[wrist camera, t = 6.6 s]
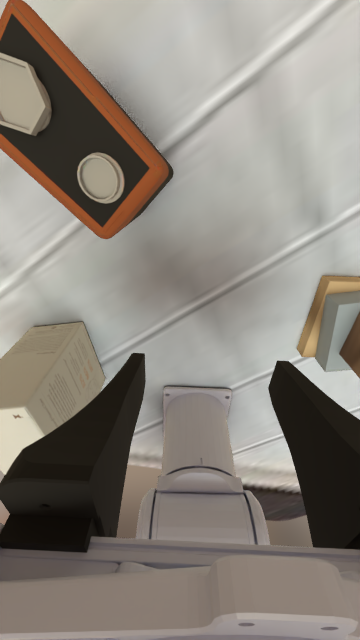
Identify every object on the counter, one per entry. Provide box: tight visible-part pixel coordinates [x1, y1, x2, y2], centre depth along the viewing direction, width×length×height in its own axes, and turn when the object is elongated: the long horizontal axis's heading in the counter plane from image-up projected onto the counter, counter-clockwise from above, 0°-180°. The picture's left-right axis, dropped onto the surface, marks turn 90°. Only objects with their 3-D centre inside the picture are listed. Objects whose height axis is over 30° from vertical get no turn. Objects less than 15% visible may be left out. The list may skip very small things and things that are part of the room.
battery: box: [0, 0, 173, 239], centre depth 13 cm, size 4×7×10 cm, turn 45°
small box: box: [0, 322, 105, 474], centre depth 22 cm, size 8×6×10 cm
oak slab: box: [297, 276, 360, 357], centre depth 23 cm, size 8×8×2 cm
